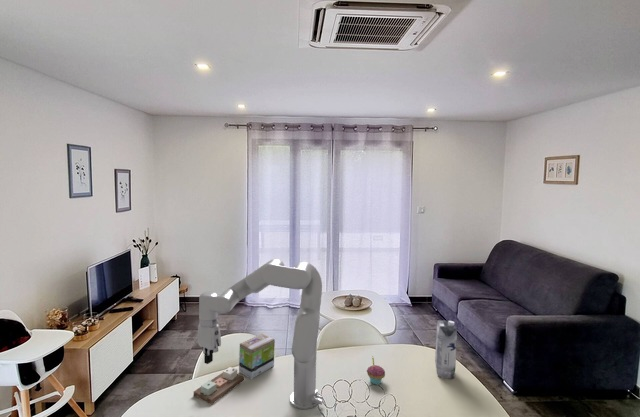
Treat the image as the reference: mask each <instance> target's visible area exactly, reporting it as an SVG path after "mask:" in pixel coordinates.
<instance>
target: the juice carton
mask: <svg viewBox="0 0 640 417" xmlns="http://www.w3.org/2000/svg"><path fill="white" fill-rule="evenodd" d="M455 323H456V322H455V321H452V320H445V319H444V320H443V319H438V320H437V324H436V334H435V356H434V363H435V369H436V374H437V377H439V378H444V379H450V380H453V379H454V378H455V374H456V364H457V363H456V362H457V360H456V359H457V344H458V332H457V327H456V326H455V325H456V324H455Z"/></svg>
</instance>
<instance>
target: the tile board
mask: <svg viewBox="0 0 640 417" xmlns="http://www.w3.org/2000/svg"><path fill="white" fill-rule="evenodd" d="M219 378H222V379H225V378H223V372H221V373H219V374H218V375H216V376H215V377H214V378H212V379H210V380H209V381H211V382H214V381H216V380H217V379H219ZM225 380H227V384H225V385H224V386H223V387H221V388H217V390H216V391H215V392H213V393H212V394H210V395H209V396H207V395H205V394H203V393H201V386H200V387H199V388H197V389H195V390H194V391H193V397H194V398H197V399H199V400H201V401H203V402H206V403H207V404H209V405H213V404H214V403H216V402H217V401H219V400H220V399H221V398H223V397H224V396H225V395H227V394H228V393H230V392H231V391H232V390H233V389H235V388H236V387H237V386H239V385H240V384H242V383H243V382H244V381H245V375H242V374H240V373H237V376H236V377H235V378H233V379H232V380H228V379H225Z"/></svg>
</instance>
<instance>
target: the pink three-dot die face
mask: <svg viewBox="0 0 640 417" xmlns="http://www.w3.org/2000/svg"><path fill="white" fill-rule="evenodd" d="M227 380H228V379H227ZM227 380H225V379H222V378H219V379H217V380H216V381H214V383H216V384H217V388H221V387H223V386H224V385H225V384H227Z"/></svg>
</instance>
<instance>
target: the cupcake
mask: <svg viewBox="0 0 640 417" xmlns="http://www.w3.org/2000/svg"><path fill="white" fill-rule="evenodd" d="M371 359H372V365H370V366H369V367H368V368H367V369H366V374H367V376H368V377H369V380H370V383H371V384H373V385H380V384H381V381H382V380H383V379H384V378H385V376H386V372H385V369H384V368H383V367H382V366H380V365H378V364H377V365H375V358H374V356H373V355H372V357H371Z"/></svg>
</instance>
